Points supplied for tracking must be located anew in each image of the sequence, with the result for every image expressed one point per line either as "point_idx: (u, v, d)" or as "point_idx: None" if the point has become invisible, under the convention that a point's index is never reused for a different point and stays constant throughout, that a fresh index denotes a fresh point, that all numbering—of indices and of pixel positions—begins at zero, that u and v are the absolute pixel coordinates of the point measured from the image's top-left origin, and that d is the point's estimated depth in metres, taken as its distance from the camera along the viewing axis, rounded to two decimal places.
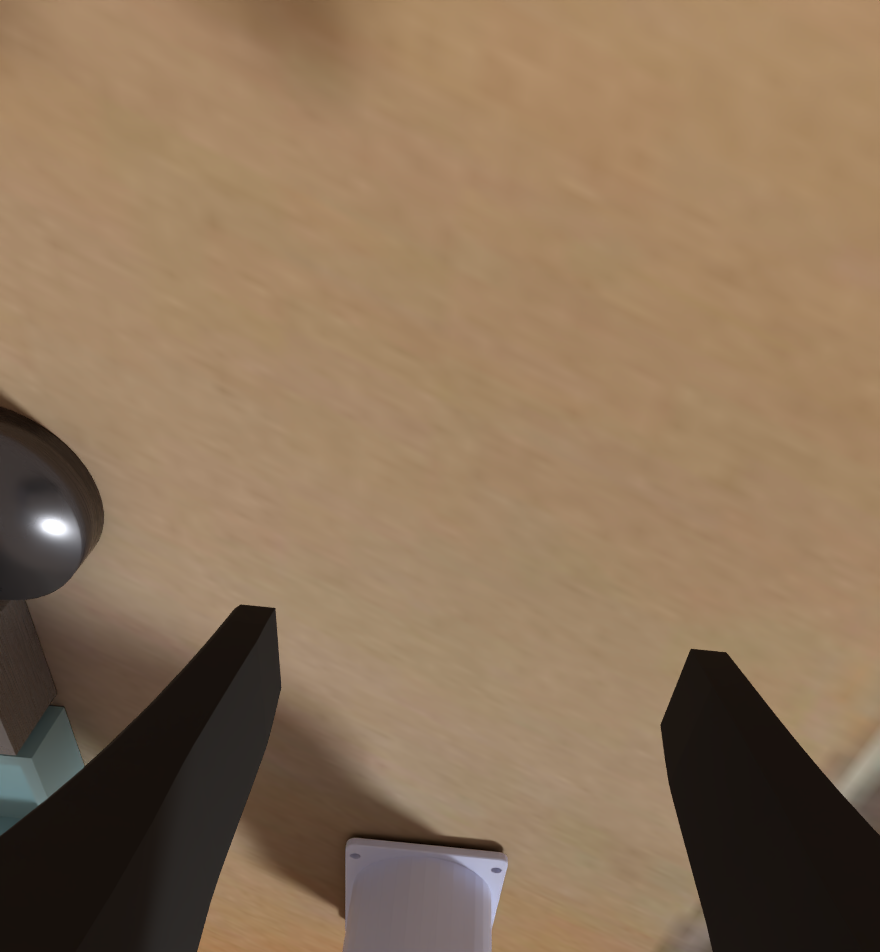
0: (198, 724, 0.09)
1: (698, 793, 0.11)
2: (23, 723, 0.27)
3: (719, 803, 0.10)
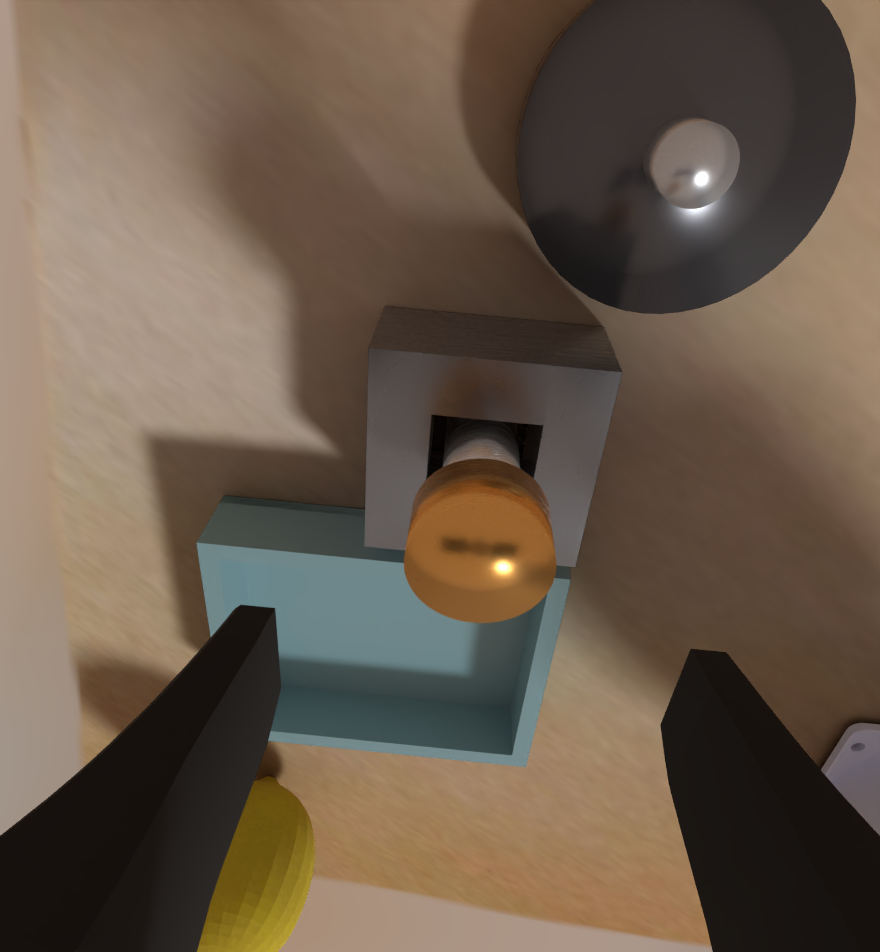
0: (198, 724, 0.09)
1: (698, 793, 0.11)
2: None
3: (719, 803, 0.10)
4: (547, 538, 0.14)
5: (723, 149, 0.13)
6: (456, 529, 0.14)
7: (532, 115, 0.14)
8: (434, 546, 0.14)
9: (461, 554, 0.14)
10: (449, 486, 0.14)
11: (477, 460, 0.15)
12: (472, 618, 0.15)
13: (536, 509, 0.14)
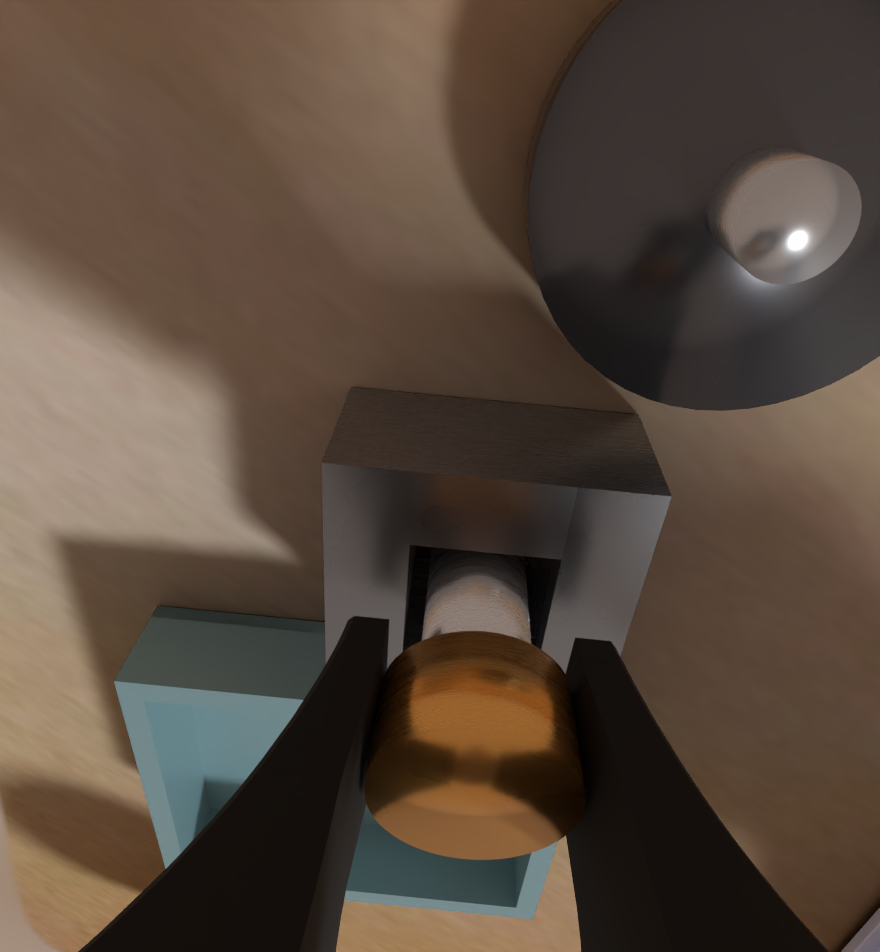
0: (345, 738, 0.09)
1: None
2: None
3: (587, 790, 0.10)
4: (573, 769, 0.09)
5: (838, 200, 0.09)
6: (438, 756, 0.09)
7: (550, 146, 0.10)
8: (408, 775, 0.10)
9: (447, 785, 0.10)
10: (430, 685, 0.10)
11: (470, 634, 0.10)
12: (464, 855, 0.11)
13: (556, 717, 0.10)
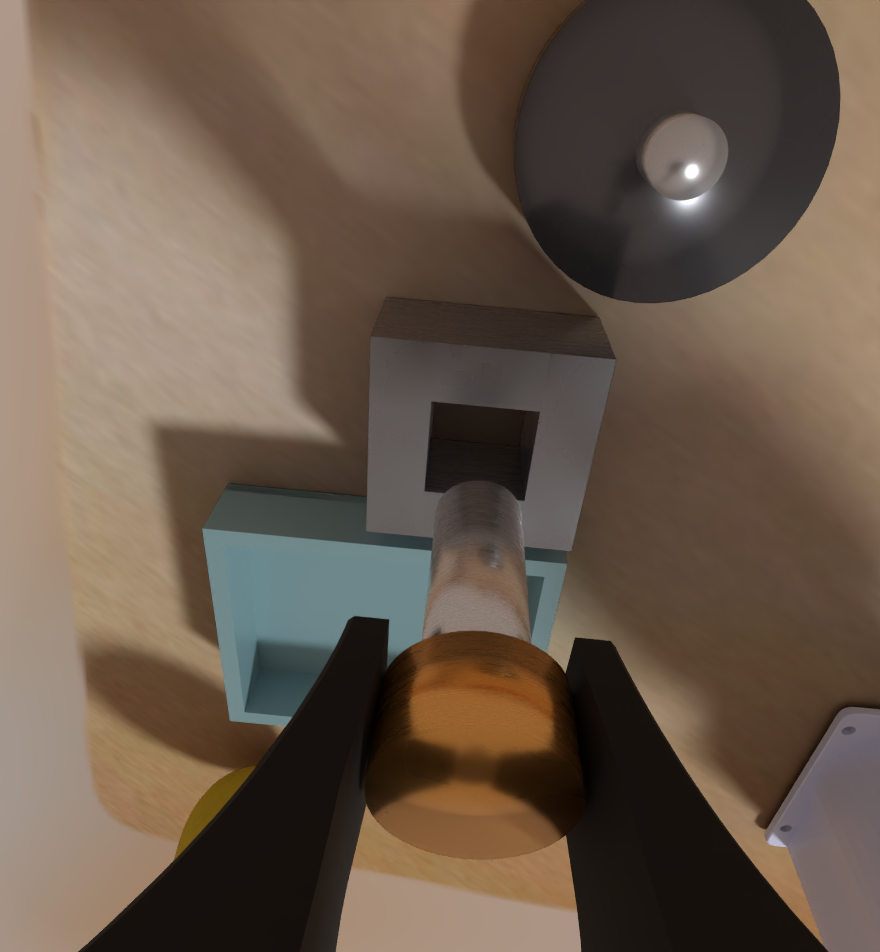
0: (345, 739, 0.09)
1: None
2: None
3: (587, 790, 0.10)
4: (573, 769, 0.09)
5: (712, 142, 0.14)
6: (439, 756, 0.09)
7: (529, 110, 0.15)
8: (407, 775, 0.10)
9: (446, 785, 0.10)
10: (429, 684, 0.10)
11: (470, 634, 0.10)
12: (464, 854, 0.11)
13: (556, 717, 0.10)
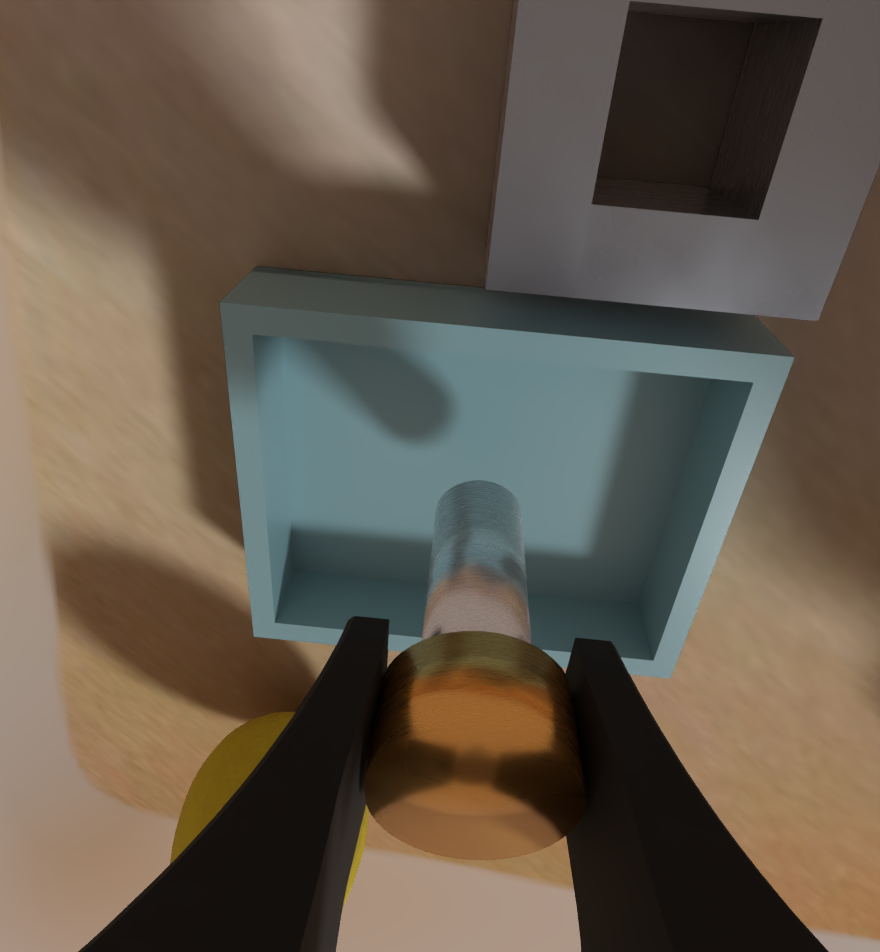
0: (345, 738, 0.09)
1: None
2: None
3: (587, 790, 0.10)
4: (573, 770, 0.09)
5: None
6: (439, 756, 0.09)
7: None
8: (407, 775, 0.10)
9: (447, 785, 0.10)
10: (429, 685, 0.10)
11: (470, 634, 0.10)
12: (464, 854, 0.11)
13: (556, 717, 0.10)
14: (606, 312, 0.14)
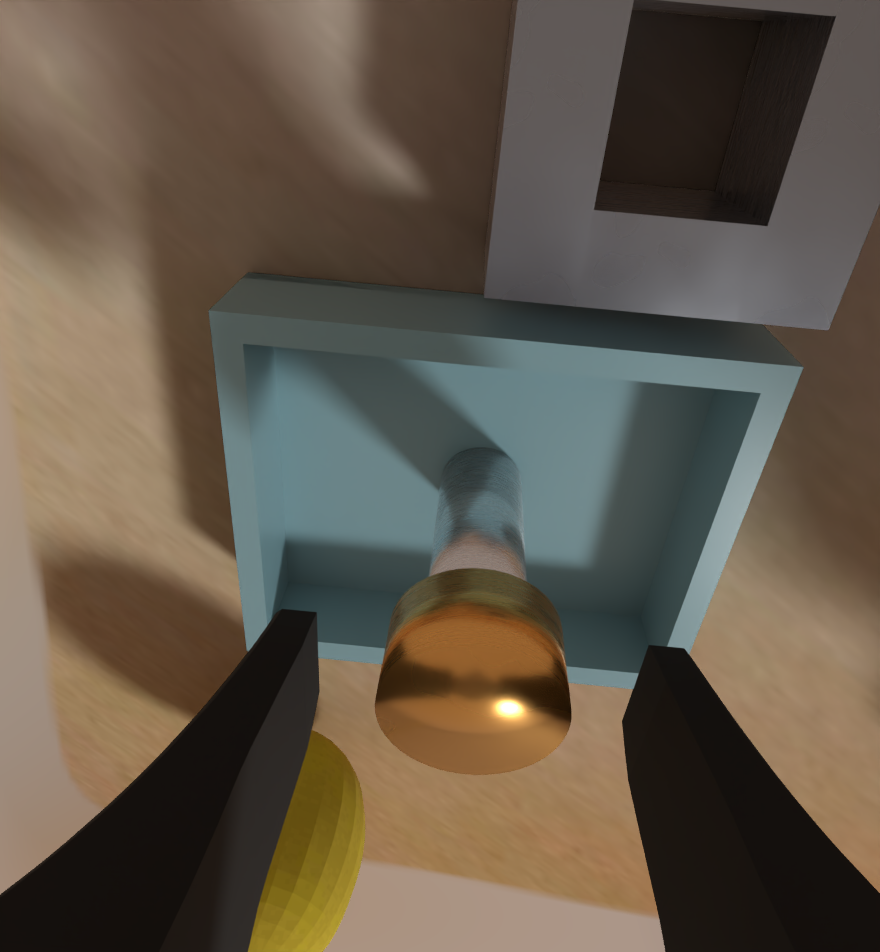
0: (252, 729, 0.09)
1: (653, 788, 0.11)
2: None
3: (671, 798, 0.10)
4: (560, 684, 0.11)
5: None
6: (441, 671, 0.11)
7: None
8: (414, 690, 0.11)
9: (448, 699, 0.11)
10: (433, 611, 0.11)
11: (471, 571, 0.12)
12: (464, 769, 0.12)
13: (546, 641, 0.11)
14: (608, 320, 0.14)
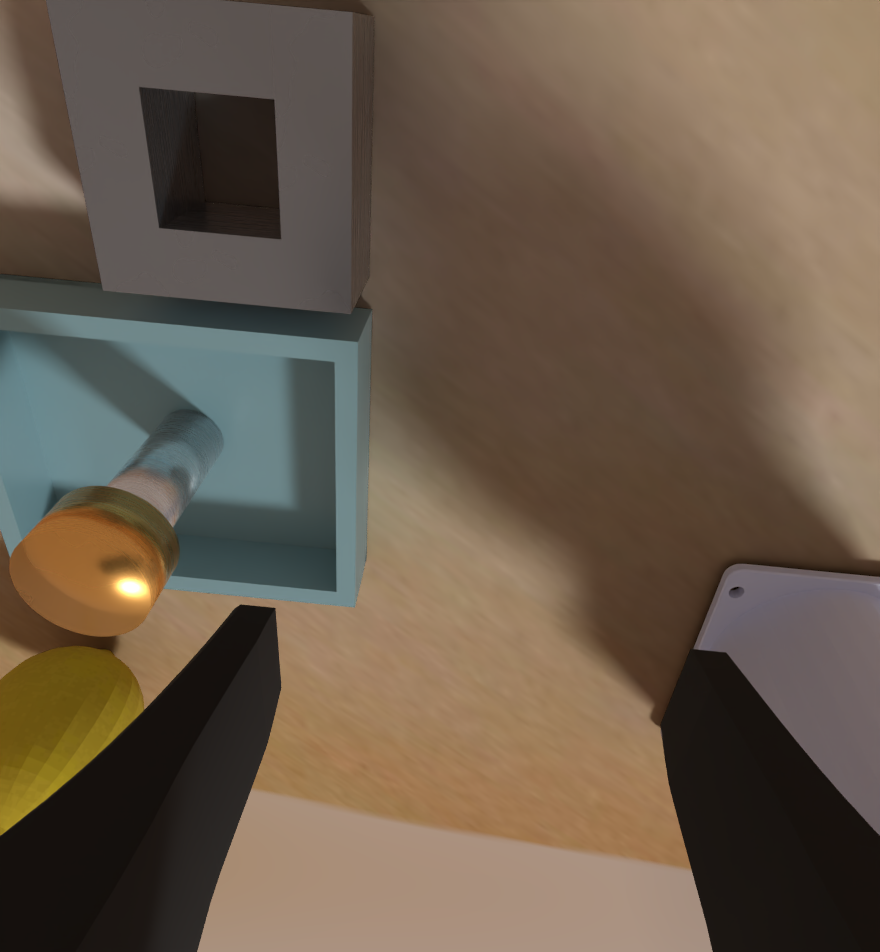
0: (198, 724, 0.09)
1: (698, 793, 0.11)
2: (357, 270, 0.17)
3: (719, 803, 0.10)
4: (128, 560, 0.15)
5: None
6: (45, 551, 0.15)
7: None
8: (33, 567, 0.15)
9: (59, 575, 0.15)
10: (51, 513, 0.16)
11: (93, 487, 0.16)
12: (93, 632, 0.16)
13: (130, 533, 0.16)
14: (243, 308, 0.19)
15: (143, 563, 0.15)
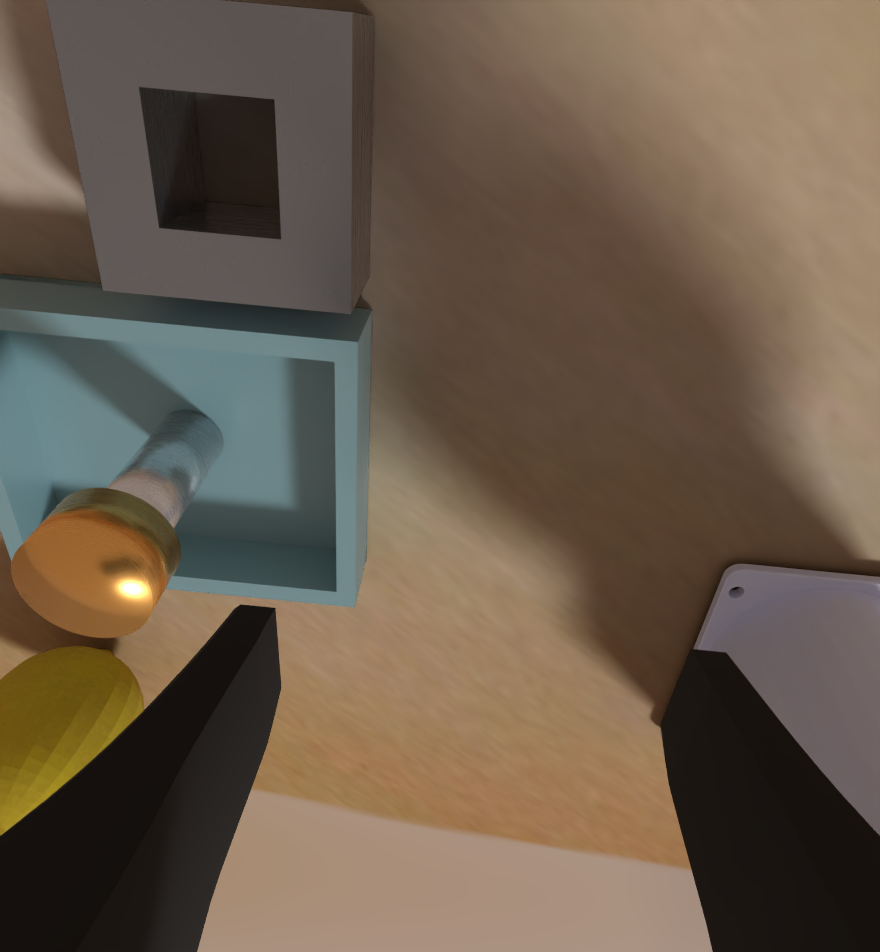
0: (198, 724, 0.09)
1: (698, 793, 0.11)
2: (357, 270, 0.17)
3: (719, 803, 0.10)
4: (130, 563, 0.15)
5: None
6: (47, 554, 0.15)
7: None
8: (35, 570, 0.15)
9: (61, 577, 0.15)
10: (53, 515, 0.16)
11: (94, 489, 0.16)
12: (95, 633, 0.16)
13: (132, 535, 0.16)
14: (243, 308, 0.19)
15: (145, 565, 0.15)
